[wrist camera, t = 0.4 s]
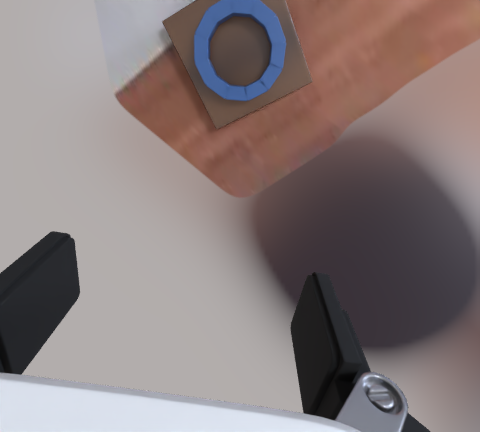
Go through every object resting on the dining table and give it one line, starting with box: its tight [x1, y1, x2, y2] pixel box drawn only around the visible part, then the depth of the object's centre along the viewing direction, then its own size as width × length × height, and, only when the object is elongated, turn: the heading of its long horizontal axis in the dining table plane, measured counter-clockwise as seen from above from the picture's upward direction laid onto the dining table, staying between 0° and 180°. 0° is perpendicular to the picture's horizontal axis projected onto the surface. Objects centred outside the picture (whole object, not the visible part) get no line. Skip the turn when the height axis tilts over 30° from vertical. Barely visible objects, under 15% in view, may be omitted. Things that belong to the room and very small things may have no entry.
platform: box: [162, 0, 312, 129], centre depth 37 cm, size 14×14×3 cm
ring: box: [194, 0, 286, 101], centre depth 35 cm, size 11×11×2 cm
